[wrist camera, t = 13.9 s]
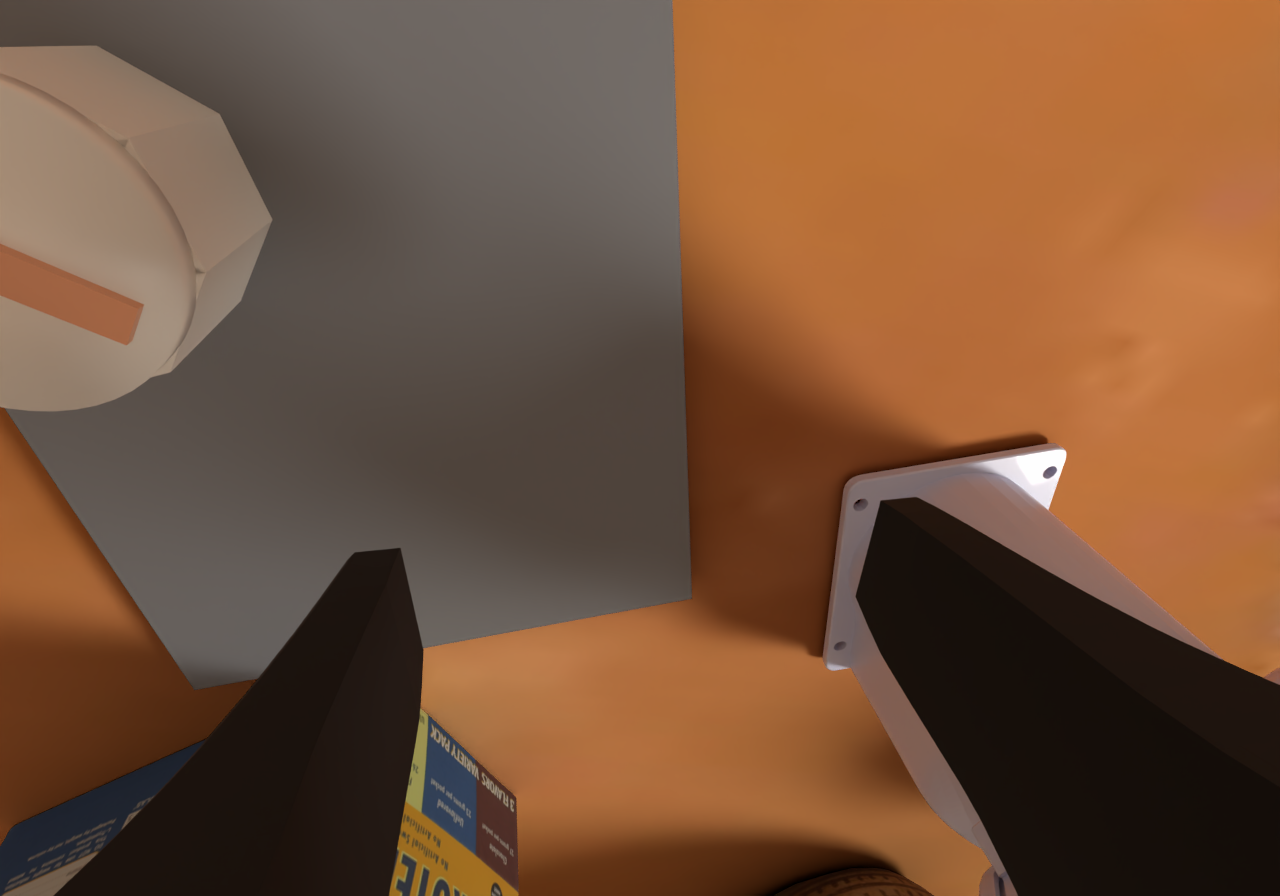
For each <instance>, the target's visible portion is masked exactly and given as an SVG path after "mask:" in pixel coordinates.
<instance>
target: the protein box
mask: <svg viewBox="0 0 1280 896" xmlns="http://www.w3.org/2000/svg"><path fill="white" fill-rule="evenodd" d="M204 741H205V740H203V741H201V742H199V743H196V744H194V745H192V746H190V747H187V748H185V749H183V750H181V751H179V752H176V753H174V754H172V755H169V756H167V757H165V758H163V759H161V760H158V761H156V762H154V763H152V764H150V765H147V766H145V767H143V768H141V769H138V770H136V771H134V772H132V773H130V774H127V775H125V776H123V777H121V778H119V779H116V780H114V781H112V782H110V783H107V784H105V785H103V786H101V787H99V788H96V789H94V790H92V791H90V792H87V793H85V794H83V795H81V796H79V797H76V798H74V799H72V800H70V801H67V802H65V803H63V804H61V805H59V806H56V807H54V808H52V809H50V810H48V811H45V812H43V813H41V814H39V815H37V816H34V817H32V818H30V819H28V820H25V821H23V822H21V823H19V824H17V825H15V826H14V827H12V828H11V829H10V831H9V832H8V834H7V836H6V838H5V839H4V841H3V843H2V844H1V846H0V896H53V895H54V894H56V893H57V892H58V891H59V890H60V889H61V888H62V887H63V886H64V885H65V884H66V883H67V882H68V881H69V880H70V879H71V878H72V877H73V876H74V875H75V874H76V873H78V872H79V871H80V870H81V869H82V868H83V867H84V866H85V865H86V864H87V863H88V862H89V861H90V860H91V859H92V858H93V857H94V856H95V855H96V854H97V853H99V852H100V851H101V850H102V849H103V848H104V847H105V846H106V845H107V844H108V843H109V842H110V841H111V840H112V839H113V838H114V837H115V836H116V835H117V834H118V833H119V832H120V831H121V830H122V829H123V828H124V827H125V826H126V825H127V824H128V823H129V822H130V821H131V819H132V818H133V817H134V816H135V815H136V814H137V813H138V812H139V811H140V810H141V809H142V808H143V807H144V806H145V805H146V804H147V803H148V802H149V801H150V800H151V799H152V798H153V797H154V796H155V795H156V794H157V793H158V792H159V791H160V790H161V789H162V787H163V786H164V785H165V784H166V783H167V782H168V781H169V780H170V779H171V778H172V777H173V776H174V775H175V774H176V772H177V771H178V770H179V769H180V768H181V767H182V766H183V765H184V764H185V763H186V762H187V761H188V759H189V758H190V757H191V756H192V755H193V754H194V753H195V752H196V751H197V749H198V748H199V747H200V746H201V745H202V744H203V743H204ZM389 896H518V848H517V810H516V797H515V796H514V795H513V794H512V793H511V792H510V791H508V790H507V789H506V788H505V787H504V786H503V785H502V784H501V783H499V782H498V781H497V780H496V779H495V778H494V777H493V776H492V775H491V774H490V773H489V772H488V771H487V770H486V769H485V768H484V767H483V766H482V765H480V764H479V763H478V762H477V761H476V760H475V759H474V758H473V757H472V756H471V755H470V754H469V753H468V752H467V751H466V750H465V749H464V748H463V747H462V746H461V745H460V744H458V743H457V742H456V741H455V740H454V739H453V738H452V737H451V736H450V735H449V734H448V733H447V732H446V731H445V730H444V729H442V728H441V727H440V726H439V725H438V724H437V723H436V722H435V721H434V720H433V719H432V718H431V717H430V716H429V715H428V714H426V713H425V712H424V711H423V710H422V709H421V708H420V719H419V725H418V732H417V738H416V744H415V749H414V755H413V761H412V767H411V773H410V779H409V784H408V790H407V796H406V801H405V807H404V813H403V818H402V824H401V830H400V835H399V841H398V847H397V852H396V858H395V864H394V869H393V875H392V881H391V887H390V893H389Z"/></svg>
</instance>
